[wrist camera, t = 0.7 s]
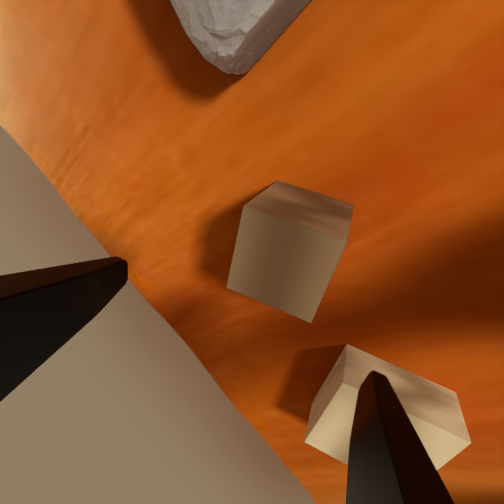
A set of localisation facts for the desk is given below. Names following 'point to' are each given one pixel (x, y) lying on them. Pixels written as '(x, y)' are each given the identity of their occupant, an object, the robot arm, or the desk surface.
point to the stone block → (235, 28)
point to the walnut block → (289, 248)
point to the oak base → (408, 392)
